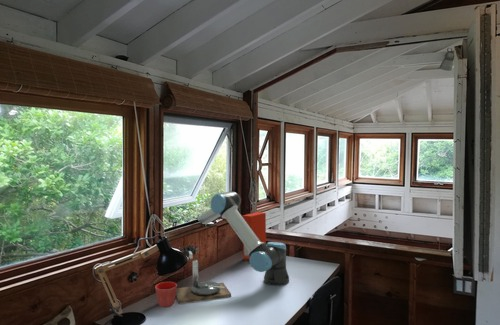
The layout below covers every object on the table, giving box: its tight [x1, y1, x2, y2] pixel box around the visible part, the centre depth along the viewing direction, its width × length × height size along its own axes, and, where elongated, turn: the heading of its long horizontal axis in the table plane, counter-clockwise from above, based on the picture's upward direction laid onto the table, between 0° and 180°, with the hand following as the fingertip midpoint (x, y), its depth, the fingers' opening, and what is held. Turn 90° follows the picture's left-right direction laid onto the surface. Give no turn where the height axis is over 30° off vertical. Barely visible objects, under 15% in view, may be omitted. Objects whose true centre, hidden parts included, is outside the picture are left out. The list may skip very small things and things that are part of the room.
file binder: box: [241, 211, 267, 262], centre depth 269 cm, size 8×17×32 cm, turn 140°
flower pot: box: [154, 281, 178, 308], centre depth 189 cm, size 11×11×10 cm
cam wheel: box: [190, 259, 224, 296], centre depth 202 cm, size 18×16×16 cm
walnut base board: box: [175, 282, 232, 305], centre depth 202 cm, size 28×18×2 cm, turn 108°
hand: (191, 256), depth 213 cm, fingers closed
